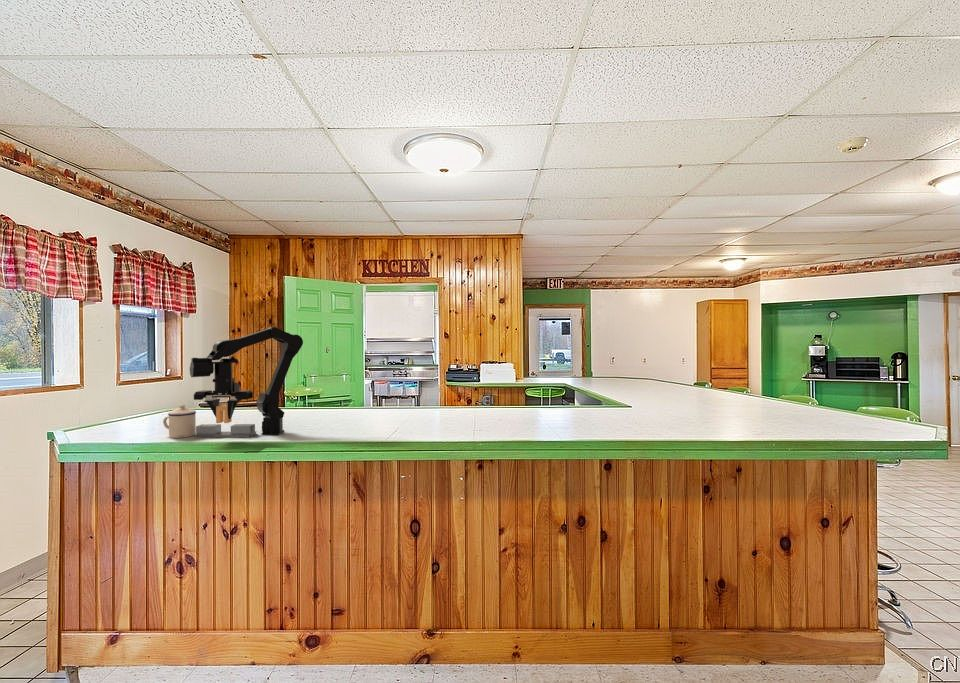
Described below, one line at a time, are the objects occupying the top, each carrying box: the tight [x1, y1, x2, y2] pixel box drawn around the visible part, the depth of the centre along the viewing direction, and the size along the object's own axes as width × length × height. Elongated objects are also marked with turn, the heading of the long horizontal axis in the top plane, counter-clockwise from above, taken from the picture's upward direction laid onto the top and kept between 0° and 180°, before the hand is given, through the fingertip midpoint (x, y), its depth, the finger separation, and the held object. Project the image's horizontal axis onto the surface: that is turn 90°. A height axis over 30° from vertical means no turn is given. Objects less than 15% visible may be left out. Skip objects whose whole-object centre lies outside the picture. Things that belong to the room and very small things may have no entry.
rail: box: [194, 423, 257, 439], centre depth 188 cm, size 20×6×4 cm, turn 91°
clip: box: [215, 404, 232, 424], centre depth 180 cm, size 4×3×6 cm
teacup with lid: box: [162, 404, 197, 439], centre depth 188 cm, size 12×9×12 cm
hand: (223, 418), depth 180 cm, fingers closed on clip, 4 cm apart
